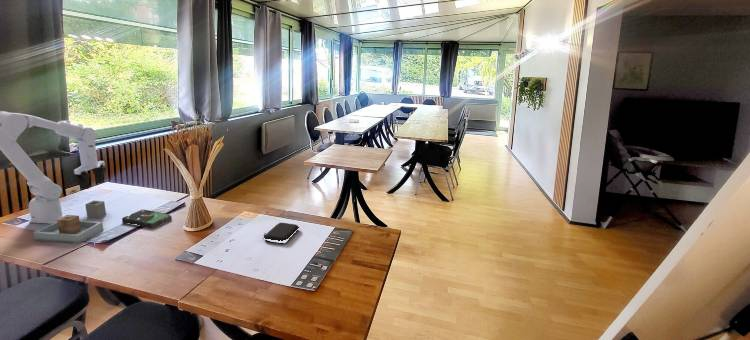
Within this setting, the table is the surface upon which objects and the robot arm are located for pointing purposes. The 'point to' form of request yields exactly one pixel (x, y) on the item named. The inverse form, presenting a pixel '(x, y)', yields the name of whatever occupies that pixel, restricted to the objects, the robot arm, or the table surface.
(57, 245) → the table surface
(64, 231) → the walnut block
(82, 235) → the tray
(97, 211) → the grey button block
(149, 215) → the disk drive
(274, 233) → the carrying case or bag
